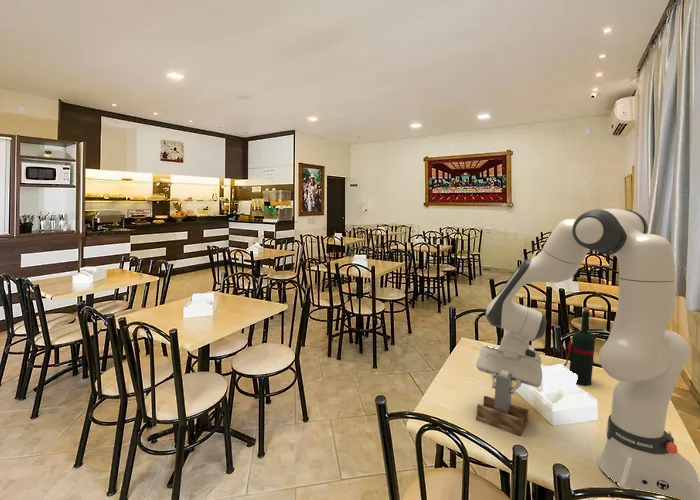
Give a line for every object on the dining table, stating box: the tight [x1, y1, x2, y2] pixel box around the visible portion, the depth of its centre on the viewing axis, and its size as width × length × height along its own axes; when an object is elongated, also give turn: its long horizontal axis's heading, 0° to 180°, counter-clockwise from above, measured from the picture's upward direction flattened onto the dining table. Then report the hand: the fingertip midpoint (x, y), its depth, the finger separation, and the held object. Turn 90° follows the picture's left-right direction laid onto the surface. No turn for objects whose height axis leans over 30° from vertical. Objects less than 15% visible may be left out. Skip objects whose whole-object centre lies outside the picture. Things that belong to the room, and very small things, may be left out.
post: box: [494, 370, 513, 414], centre depth 121 cm, size 4×4×13 cm
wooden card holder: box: [474, 395, 529, 437], centre depth 122 cm, size 14×10×4 cm
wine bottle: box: [563, 307, 596, 387], centre depth 146 cm, size 8×10×30 cm
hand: (502, 390), depth 120 cm, fingers closed on post, 4 cm apart
